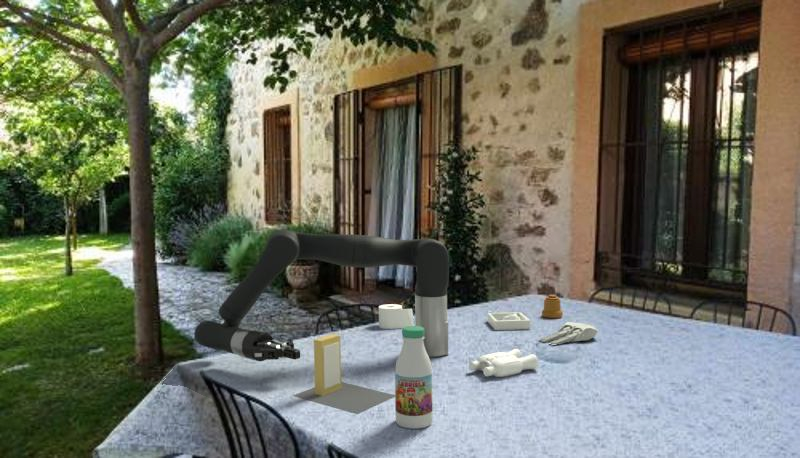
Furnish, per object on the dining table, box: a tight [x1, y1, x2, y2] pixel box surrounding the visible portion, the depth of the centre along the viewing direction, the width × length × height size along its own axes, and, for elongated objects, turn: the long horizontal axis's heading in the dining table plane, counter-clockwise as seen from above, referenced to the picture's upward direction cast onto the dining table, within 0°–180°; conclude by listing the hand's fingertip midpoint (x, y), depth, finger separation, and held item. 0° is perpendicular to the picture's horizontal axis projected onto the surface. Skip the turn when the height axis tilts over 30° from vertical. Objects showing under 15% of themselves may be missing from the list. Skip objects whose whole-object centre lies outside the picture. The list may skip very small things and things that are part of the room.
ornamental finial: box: [541, 294, 564, 319], centre depth 227 cm, size 8×8×8 cm
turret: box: [538, 321, 599, 345], centre depth 194 cm, size 10×20×5 cm, turn 119°
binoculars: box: [468, 348, 539, 378], centre depth 163 cm, size 10×16×5 cm, turn 121°
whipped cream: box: [503, 312, 521, 320], centre depth 214 cm, size 8×7×5 cm
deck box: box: [313, 333, 342, 396], centre depth 147 cm, size 3×6×13 cm, turn 143°
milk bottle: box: [394, 325, 434, 430], centre depth 128 cm, size 8×8×20 cm
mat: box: [292, 381, 395, 415], centre depth 145 cm, size 20×14×1 cm
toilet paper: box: [378, 303, 414, 330], centre depth 216 cm, size 8×11×7 cm
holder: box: [486, 311, 531, 331], centre depth 215 cm, size 12×13×3 cm
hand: (297, 354), depth 153 cm, fingers closed
